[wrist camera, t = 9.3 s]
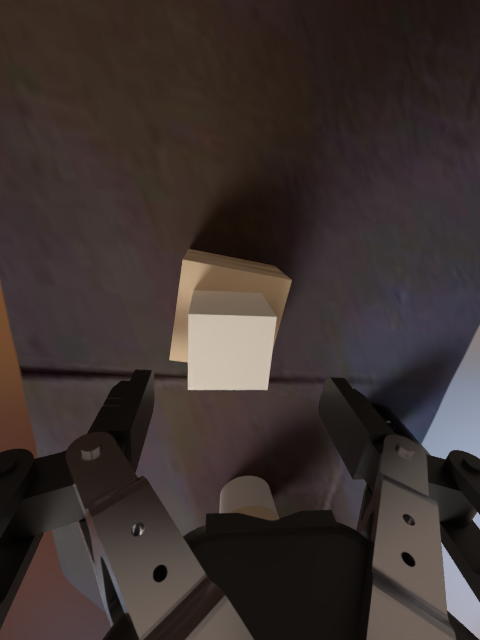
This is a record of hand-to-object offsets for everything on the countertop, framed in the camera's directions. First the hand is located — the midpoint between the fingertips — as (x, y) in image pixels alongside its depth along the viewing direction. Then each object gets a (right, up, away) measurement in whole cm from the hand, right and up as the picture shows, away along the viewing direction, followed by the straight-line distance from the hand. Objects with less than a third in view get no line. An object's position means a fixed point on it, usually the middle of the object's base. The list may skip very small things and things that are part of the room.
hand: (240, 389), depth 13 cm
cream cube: (-1, +3, +8) cm, 9 cm away
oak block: (-2, +5, +14) cm, 15 cm away
